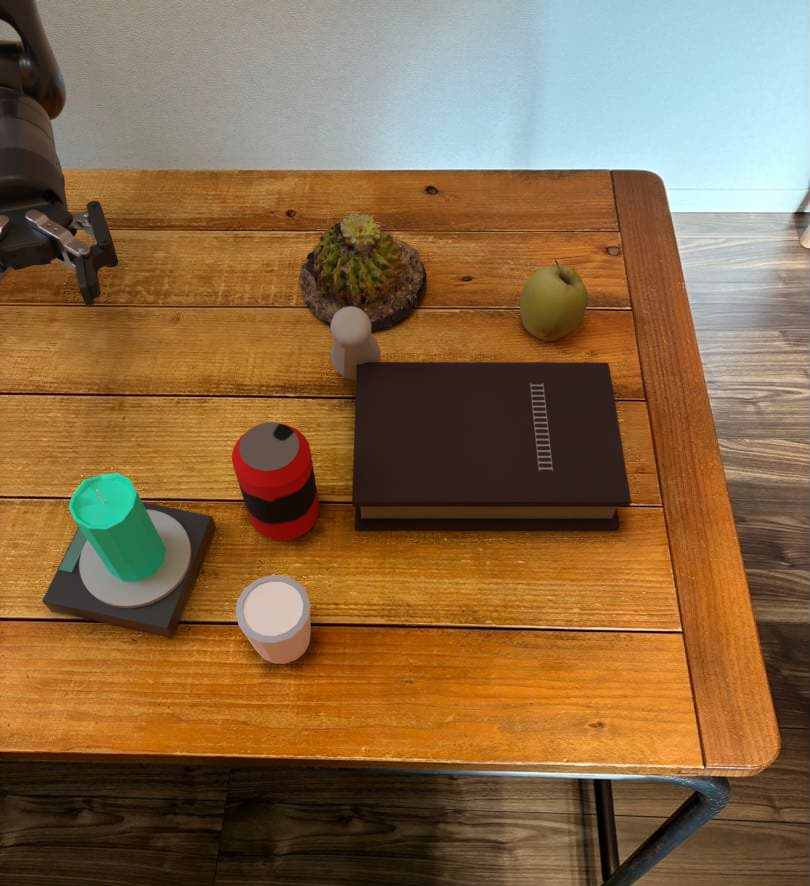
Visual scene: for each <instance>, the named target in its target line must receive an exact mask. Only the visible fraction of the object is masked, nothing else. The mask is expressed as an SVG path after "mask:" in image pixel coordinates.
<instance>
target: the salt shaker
mask: <svg viewBox="0 0 810 886" xmlns="http://www.w3.org/2000/svg"><path fill="white" fill-rule="evenodd" d="M329 329H330V335H331V336H332V338H333V343H332V346H331V348H330V362H331V363H332V365H333V368H334V370H335V371H336V372H338V373H339V374H340V376H342V377H343V378H345V379H348V380H352V381H356V372H357V365H358V364H364V363H367V362H381V355H382V354H381V352H382V351H381V347H380V345H379V342H378V340H377V339H376V337H375V336H374V335H373V333H372V330H371V322H370V320H369V317H368V315H367V314H366V313H365V312H363V311H362V310H361V309H360V308H356V307H352V306H350V307H345V308H342V309H340V310H339V311H338V312H336V313H335V315H334V317H333V319H332V320H331V326H330V328H329Z"/></svg>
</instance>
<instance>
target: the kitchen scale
mask: <svg viewBox="0 0 810 886" xmlns="http://www.w3.org/2000/svg"><path fill="white" fill-rule="evenodd" d="M142 503H143V505H144V507H145V509H146V511H147V512H148V514H149V516H150V518H151V520H152V522H153V524H154V526H155V528H156V530H157V532H158V534H159V536H160V538H161V540H162V542H163V544H164V546H165V548H166V551H165V557H164V563H163V564H162V565H161V566H160V567H159V569H158V570H157V571H156V572H155V573H154V574H153V575H151V576H149V577H147V578H145V579H143V580H140V581H122V580H120V579H118V578H117V577H115V576H113V575H112V574H110V572H109V571H108V569H107V568H106V566H105V565H104V563H103V562H102V560H101V559H100V557H99V556H98V554H97V553H96V552H95V550H94V549H93V547H92V546H91V544H90V543H89V541H88V540H87V538H86V537H85V535H84V534H83V532H82V531H81V530H80V528H79V527H77V528H76V531H75V533H74V534H73V537H72V539H71V541H70V544H69V545H68V547H67V549H66V551H65V553H64V556H63V557H62V559H61V562H60V564H59V566H58V568H57V570H56V571H55V573H54V576H53V578H52V580H51V582H50V584H49V586H48V588H47V590H46V592H45V594H44V596H43V598H42V600H41V601H42V603H43V604H44V605H45V606H46V607H47V609H48V610H49V611H50V612H54V613H58V614H62V615H67V616H71V617H76V618H81V619H85V620H90V621H94V622H99V623H103V624H106V625H107V624H108V625H112V626H116V627H122V628H125V629H126V628H127V629H131V630H135V631H140V632H144V633H149V634H153V635H158V636H163V637H166V638H167V637H168V638H172V639H173V638H174V636H175V634H176V631H177V629H178V626H179V623H180V620H181V619H182V616H183V613H184V610H185V608H186V606H187V603H188V601H189V598H190V595H191V593H192V591H193V588H194V585H195V582H196V580H197V578H198V575H199V572H200V570H201V567H202V565H203V562H204V560H205V557H206V556H207V552H208V551H209V550H208V549H209V547H210V545H211V542H212V539H213V537H214V535H215V532H216V529H217V526H216V523H215V521H214V518H213V516H212V515H209V514H204V513H199V512H193V511H189V510H188V511H187V510H184V509H179V508H173V507H168V506H163V505H158V504H154V503H149V502H143V501H142Z"/></svg>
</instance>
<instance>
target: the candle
mask: <svg viewBox="0 0 810 886" xmlns="http://www.w3.org/2000/svg"><path fill="white" fill-rule="evenodd" d="M142 502H143V501H142V499H141V497H140V495H139V493H138V491H137V489H136V488H135V486H134V484H133V482H132V479H130V478H128V477H126V476H124V475H122V474H120V473H119V472H114V473H106V474H100V475H96V476H92V477H89V478H86V479H83V480H82V481H81V483H80V484H79V485H78V487H77V488H76V490H75V491H74V492H73V493H72V496H71V498H70V501H69V504H68V505H67V506H68V509H69V511H70V515H71V516H72V518H73V521H74V523H75V524H76V525H77V526H78V527H79V528H80V530H81V531H82V532H83V534H84V535H85V537H86V538H87V540H88V541H89V543H90V544H91V546H92V547H93V549H94V550H95V552H96V553H97V554H98V556H99V557H100V559H101V560H102V562H103V563H104V565H105V566H106V568H107V569H108V571H109V572H110V574H112V575H113V576H115V577H117V578H118V579H120V580H122V581H140V580H143V579H145V578H147V577H149V576H151V575H153V574H154V573H155V572H156V571H157V570H158V569H159V567H160V566H161V565H162V564H163V563H164V557H165V551H166V548H165V546H164V544H163V542H162V540H161V538H160V536H159V534H158V532H157V530H156V528H155V526H154V524H153V522H152V520H151V518H150V516H149V514H148V512H147V511H146V509H145V507H144V505H143V503H142ZM78 527H77V528H78Z"/></svg>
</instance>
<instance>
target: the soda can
mask: <svg viewBox="0 0 810 886" xmlns="http://www.w3.org/2000/svg"><path fill="white" fill-rule="evenodd" d="M231 463H232V467H233V470H234V473H235V477H236V480H237V483H238V485H239V490H240V494H241V496H242V498H243V502H244V505H245V508H246V512H247V515H248V518H249V521H250V523H251V525H252V527H253V528H254V529H255V531H256V532H258V533H259V535H261V536H263V537H265V538H267V539H271V540H274V541H289V540H293V539H297V538H299V537H301V536H303V535H305V534H306V533H307V532H309V531H310V530H311V529H312V528H313V527H314V525H315V524H316V523H317V520H318V519H319V515H320V500H319V493H318V488H317V482H316V476H315V470H314V464H313V458H312V452H311V446H310V443H309V441H308V439H307V438H306V435H304V433H302V432H301V431H300V430H298V429H297V428H295V427H293V426H292V425H288V424H284V423H281V422H276V421H275V422H274V421H269V422H268V421H267V422H262V423H259V424H257V425H254V426H253V427H251V428H249V429H248V430H247V431H246V432H245V433H243V434H242V435H241V436H240V437H239V438H238V439H237V441H236V442H235V445H234V446H233V449H232V453H231Z"/></svg>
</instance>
